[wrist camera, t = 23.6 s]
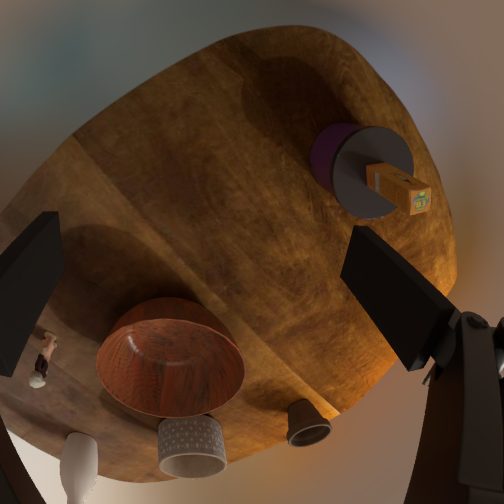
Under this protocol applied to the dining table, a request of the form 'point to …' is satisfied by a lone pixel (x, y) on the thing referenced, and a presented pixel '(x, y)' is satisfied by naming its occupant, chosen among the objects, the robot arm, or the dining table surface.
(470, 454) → the robot arm
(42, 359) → the grandmother figurine
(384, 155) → the jar
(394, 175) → the supplement box
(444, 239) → the dining table surface
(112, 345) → the bowl
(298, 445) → the flower pot
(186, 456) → the planter
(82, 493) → the bottle
